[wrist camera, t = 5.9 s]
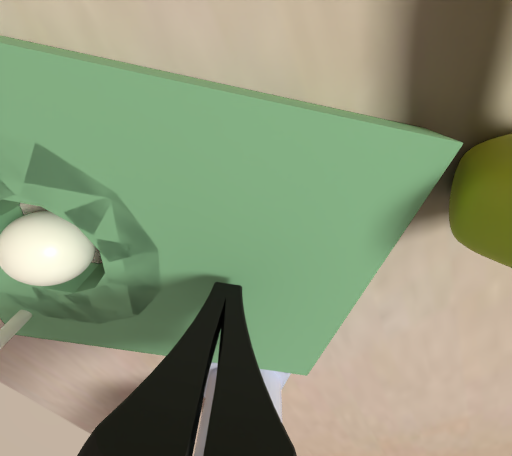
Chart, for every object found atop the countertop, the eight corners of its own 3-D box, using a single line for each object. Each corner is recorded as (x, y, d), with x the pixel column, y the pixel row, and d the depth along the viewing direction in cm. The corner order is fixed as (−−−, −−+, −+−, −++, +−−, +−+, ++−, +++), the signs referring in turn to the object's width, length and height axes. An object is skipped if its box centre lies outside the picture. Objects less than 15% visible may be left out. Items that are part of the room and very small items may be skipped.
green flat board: (303, 344, 20) (307, 375, 18) (27, 303, 19) (-3, 332, 17) (424, 128, 10) (463, 143, 8) (-150, 2, 9) (-279, -18, 7)
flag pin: (61, 288, 18) (-40, 396, 12) (50, 287, 18) (-57, 394, 12) (50, 261, 16) (-74, 370, 10) (37, 259, 16) (-93, 368, 10)
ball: (89, 240, 16) (114, 276, 14) (10, 268, 13) (28, 316, 12) (70, 189, 14) (97, 224, 12) (-31, 211, 11) (-17, 260, 9)
